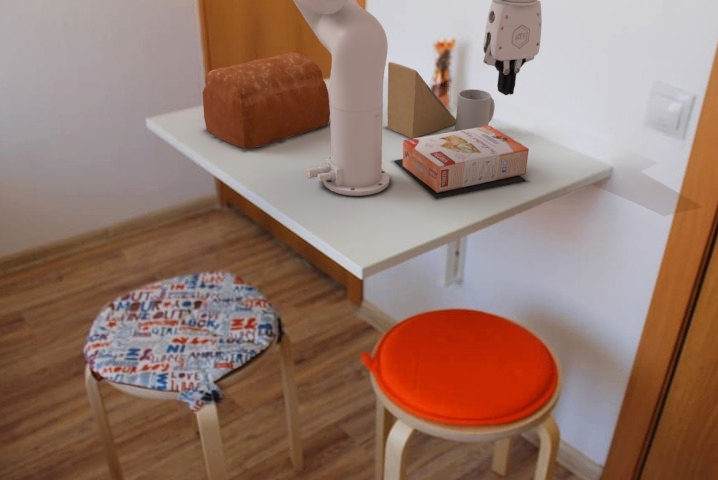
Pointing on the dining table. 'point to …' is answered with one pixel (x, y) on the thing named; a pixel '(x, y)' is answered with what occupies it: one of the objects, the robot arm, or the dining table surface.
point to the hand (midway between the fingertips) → (505, 92)
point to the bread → (265, 100)
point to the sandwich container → (413, 104)
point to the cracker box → (464, 158)
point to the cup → (473, 109)
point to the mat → (465, 189)
